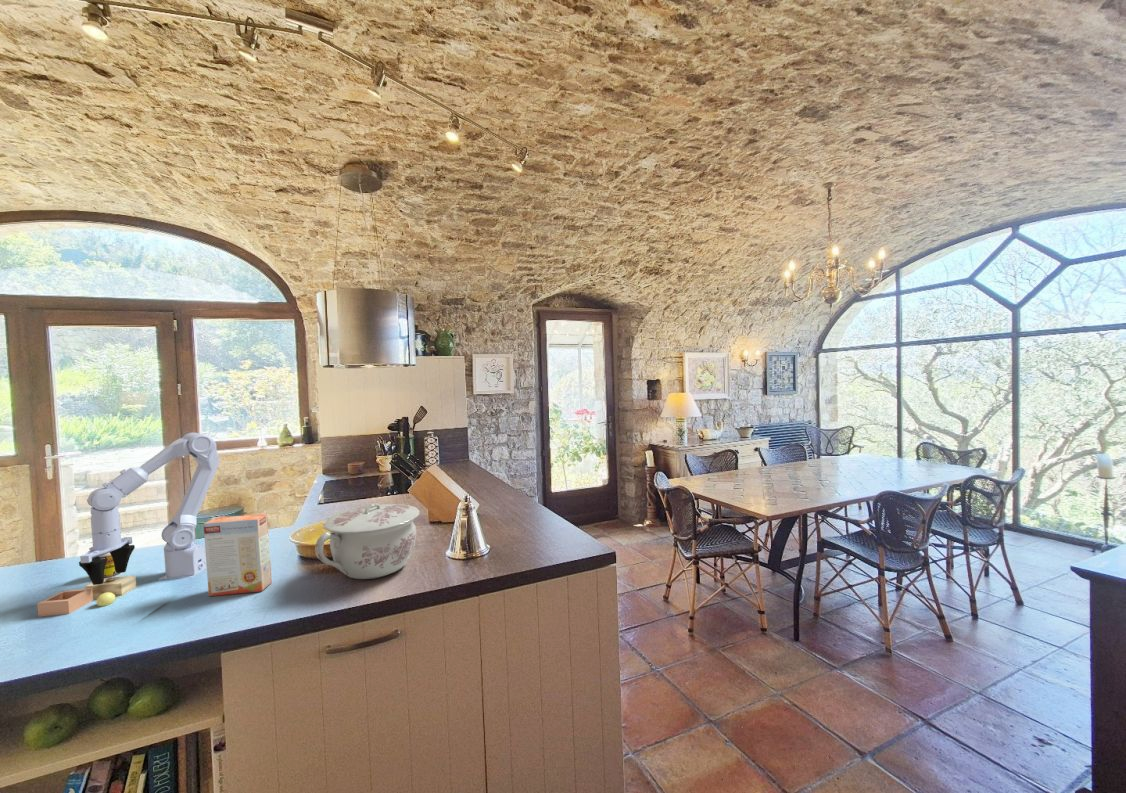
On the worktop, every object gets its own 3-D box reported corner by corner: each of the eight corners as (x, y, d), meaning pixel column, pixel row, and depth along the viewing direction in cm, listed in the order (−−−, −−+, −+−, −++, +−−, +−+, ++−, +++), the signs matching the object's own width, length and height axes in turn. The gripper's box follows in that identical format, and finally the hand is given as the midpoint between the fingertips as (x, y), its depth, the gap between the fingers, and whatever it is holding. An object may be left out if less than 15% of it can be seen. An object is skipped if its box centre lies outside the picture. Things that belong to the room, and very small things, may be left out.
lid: (136, 587, 132) (135, 573, 132) (122, 595, 128) (120, 581, 127) (101, 590, 131) (100, 576, 131) (85, 598, 126) (84, 584, 126)
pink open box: (93, 602, 125) (92, 588, 125) (69, 615, 118) (68, 600, 118) (64, 605, 124) (63, 590, 124) (38, 618, 117) (37, 603, 117)
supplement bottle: (94, 582, 138) (91, 549, 137) (100, 576, 143) (97, 544, 142) (120, 577, 141) (116, 545, 140) (124, 571, 146) (121, 540, 145)
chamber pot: (422, 547, 158) (419, 488, 157) (423, 581, 132) (419, 510, 131) (332, 560, 150) (329, 497, 149) (315, 598, 123) (310, 523, 122)
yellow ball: (119, 602, 125) (118, 589, 125) (108, 608, 121) (107, 595, 121) (104, 603, 125) (103, 590, 124) (93, 610, 121) (91, 596, 121)
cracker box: (272, 582, 134) (268, 512, 133) (262, 592, 128) (257, 519, 127) (221, 587, 132) (216, 516, 131) (207, 597, 126) (202, 522, 125)
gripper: (112, 523, 135) (115, 568, 136) (65, 540, 121) (69, 591, 121) (138, 521, 136) (141, 566, 137) (95, 538, 122) (99, 588, 122)
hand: (109, 578), depth 129 cm, fingers open, 7 cm apart
